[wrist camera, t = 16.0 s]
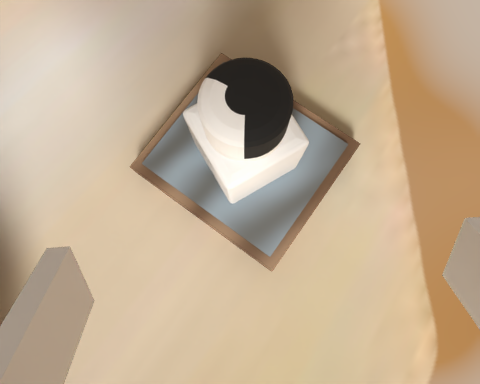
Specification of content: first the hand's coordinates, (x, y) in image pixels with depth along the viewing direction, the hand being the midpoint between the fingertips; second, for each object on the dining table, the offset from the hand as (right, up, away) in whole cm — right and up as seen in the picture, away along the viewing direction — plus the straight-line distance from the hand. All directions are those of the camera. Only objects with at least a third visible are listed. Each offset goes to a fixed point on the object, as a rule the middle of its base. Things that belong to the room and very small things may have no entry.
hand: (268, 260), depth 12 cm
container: (0, +6, +24) cm, 25 cm away
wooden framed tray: (0, +6, +26) cm, 27 cm away
